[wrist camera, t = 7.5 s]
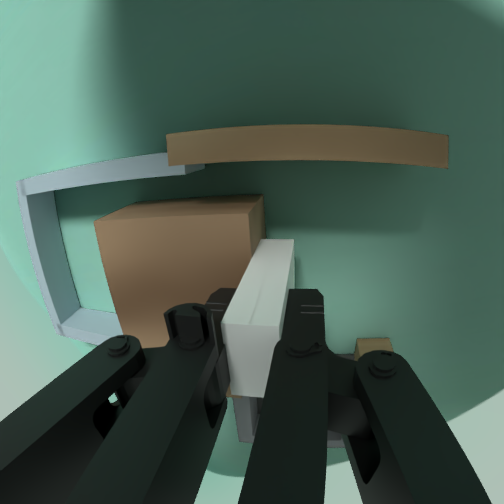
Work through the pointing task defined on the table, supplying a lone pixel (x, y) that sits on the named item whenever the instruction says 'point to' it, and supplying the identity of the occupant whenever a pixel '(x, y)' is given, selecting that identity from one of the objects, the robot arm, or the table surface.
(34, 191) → the dock
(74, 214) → the table surface
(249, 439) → the trap pit
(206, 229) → the block
